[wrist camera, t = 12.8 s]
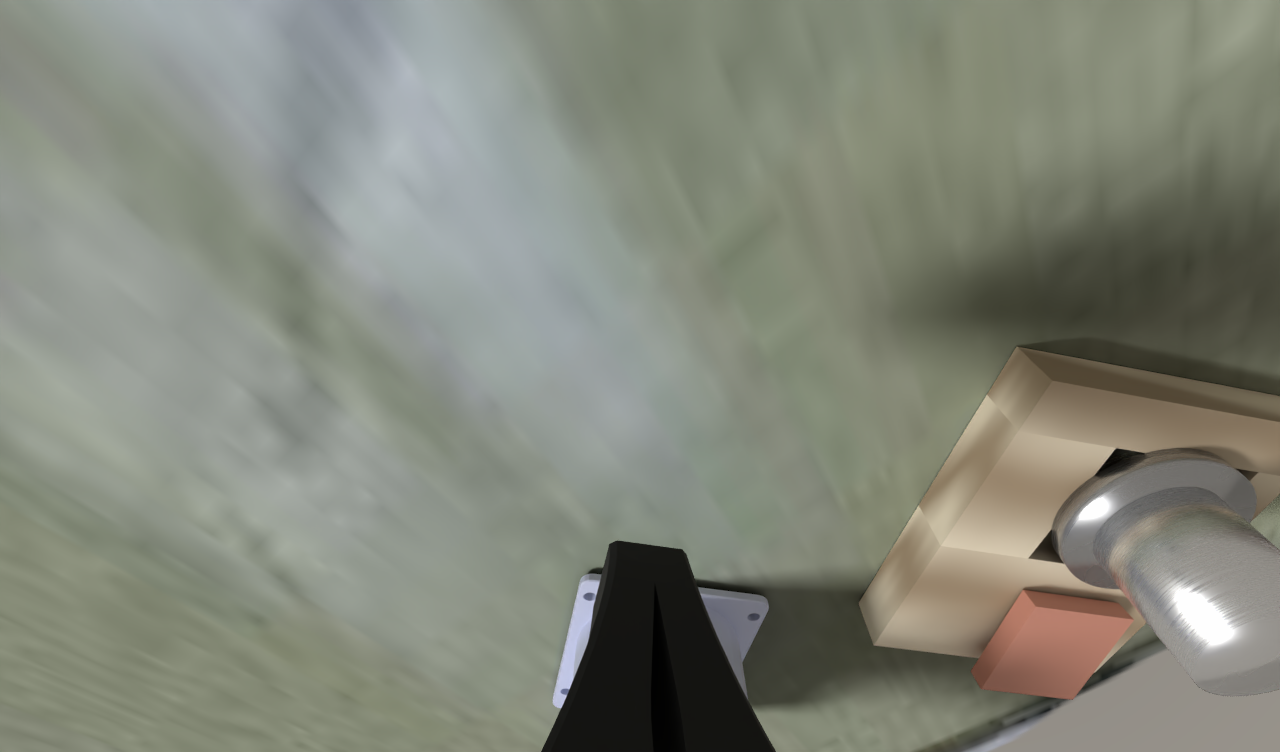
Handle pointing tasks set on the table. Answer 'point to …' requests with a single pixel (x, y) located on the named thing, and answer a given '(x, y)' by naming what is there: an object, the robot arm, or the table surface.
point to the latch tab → (1050, 644)
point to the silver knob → (1182, 561)
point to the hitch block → (1046, 491)
